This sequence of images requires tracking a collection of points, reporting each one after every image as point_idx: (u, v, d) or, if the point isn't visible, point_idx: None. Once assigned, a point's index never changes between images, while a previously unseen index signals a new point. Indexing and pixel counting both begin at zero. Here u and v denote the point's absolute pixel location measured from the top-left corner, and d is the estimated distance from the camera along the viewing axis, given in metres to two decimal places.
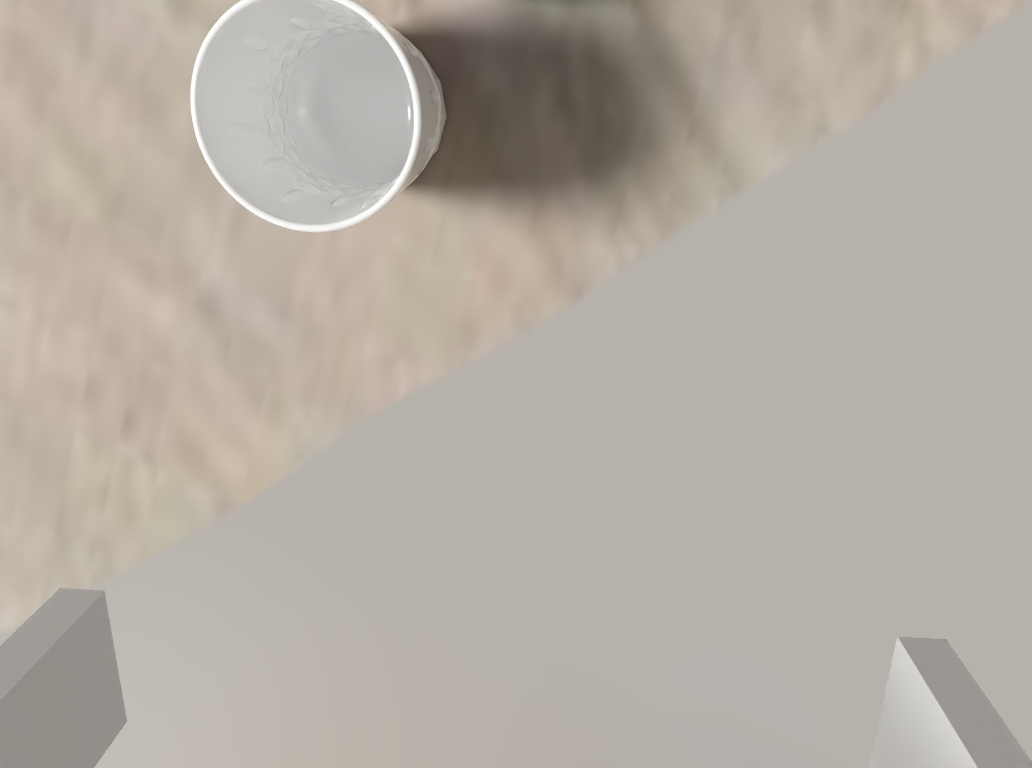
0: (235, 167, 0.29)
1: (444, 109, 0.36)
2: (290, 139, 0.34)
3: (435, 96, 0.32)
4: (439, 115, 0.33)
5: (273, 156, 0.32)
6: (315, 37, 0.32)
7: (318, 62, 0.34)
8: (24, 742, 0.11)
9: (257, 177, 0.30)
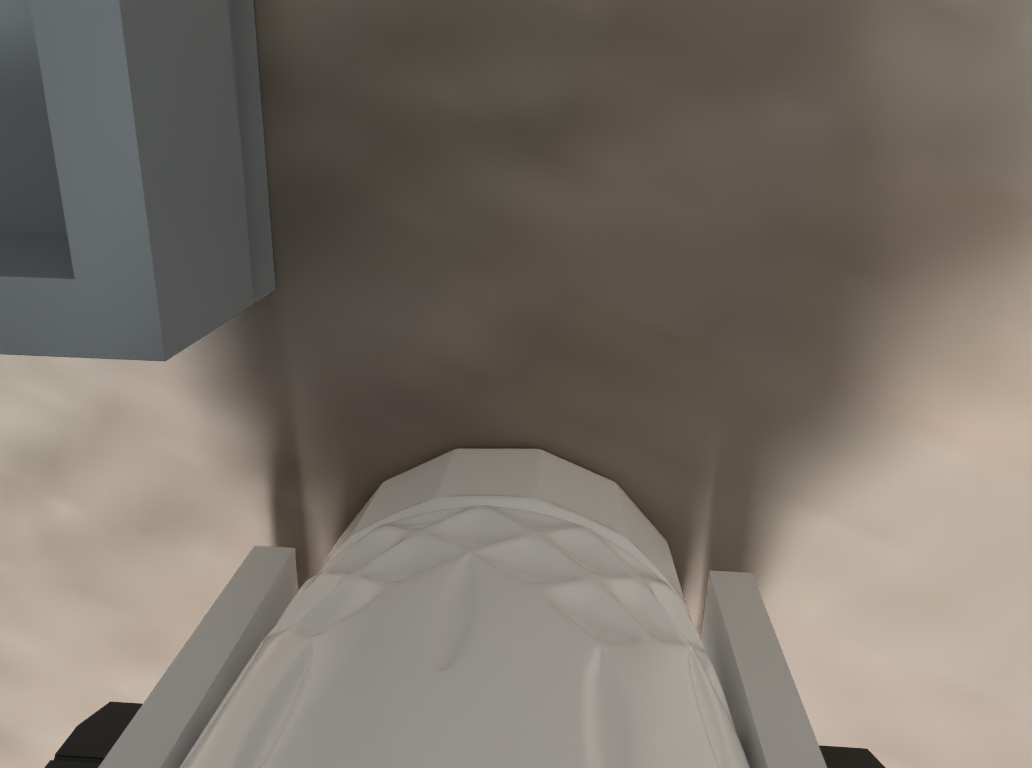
0: None
1: (521, 458, 0.14)
2: None
3: (463, 569, 0.10)
4: (524, 541, 0.11)
5: None
6: None
7: None
8: None
9: None
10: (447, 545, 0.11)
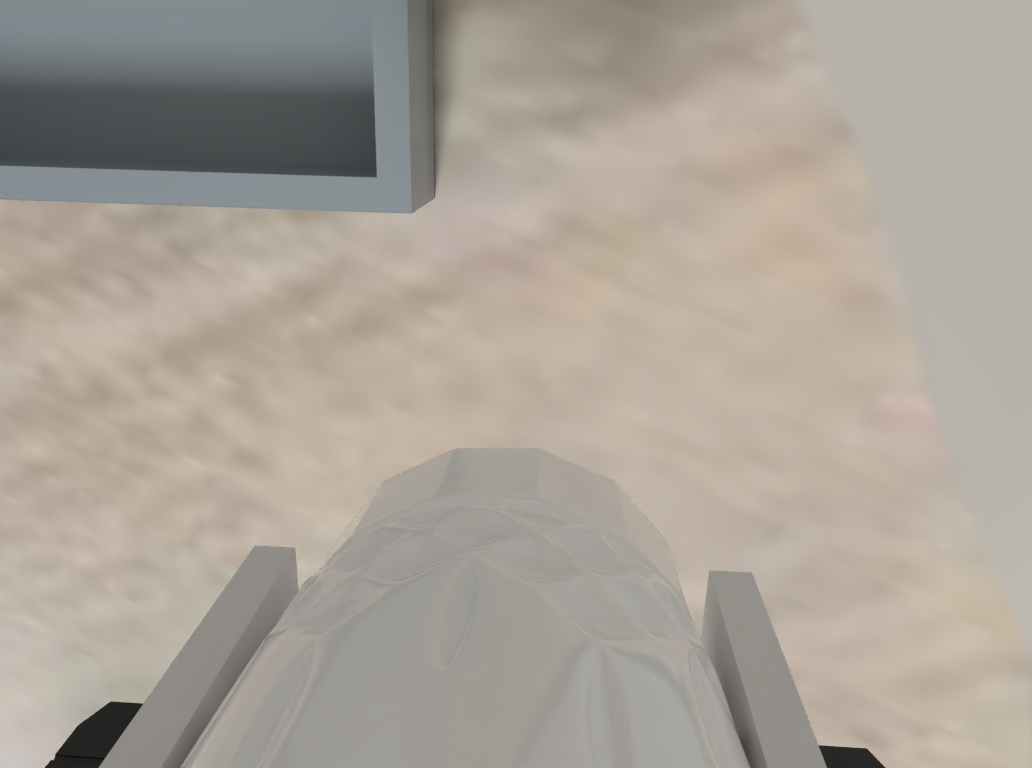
0: None
1: (521, 457, 0.14)
2: None
3: (464, 567, 0.10)
4: (525, 541, 0.11)
5: None
6: None
7: None
8: None
9: None
10: (448, 544, 0.11)
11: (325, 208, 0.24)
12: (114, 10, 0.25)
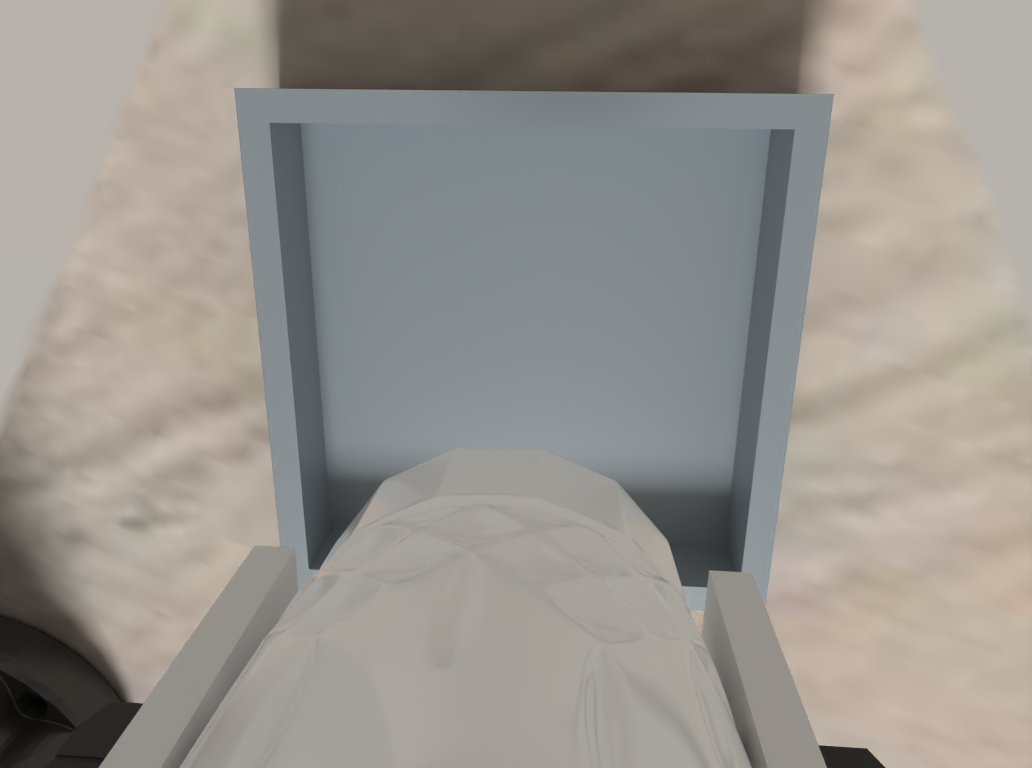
0: None
1: (521, 456, 0.14)
2: None
3: (464, 567, 0.10)
4: (525, 540, 0.11)
5: None
6: None
7: None
8: None
9: None
10: (448, 543, 0.11)
11: (694, 609, 0.30)
12: (502, 432, 0.31)
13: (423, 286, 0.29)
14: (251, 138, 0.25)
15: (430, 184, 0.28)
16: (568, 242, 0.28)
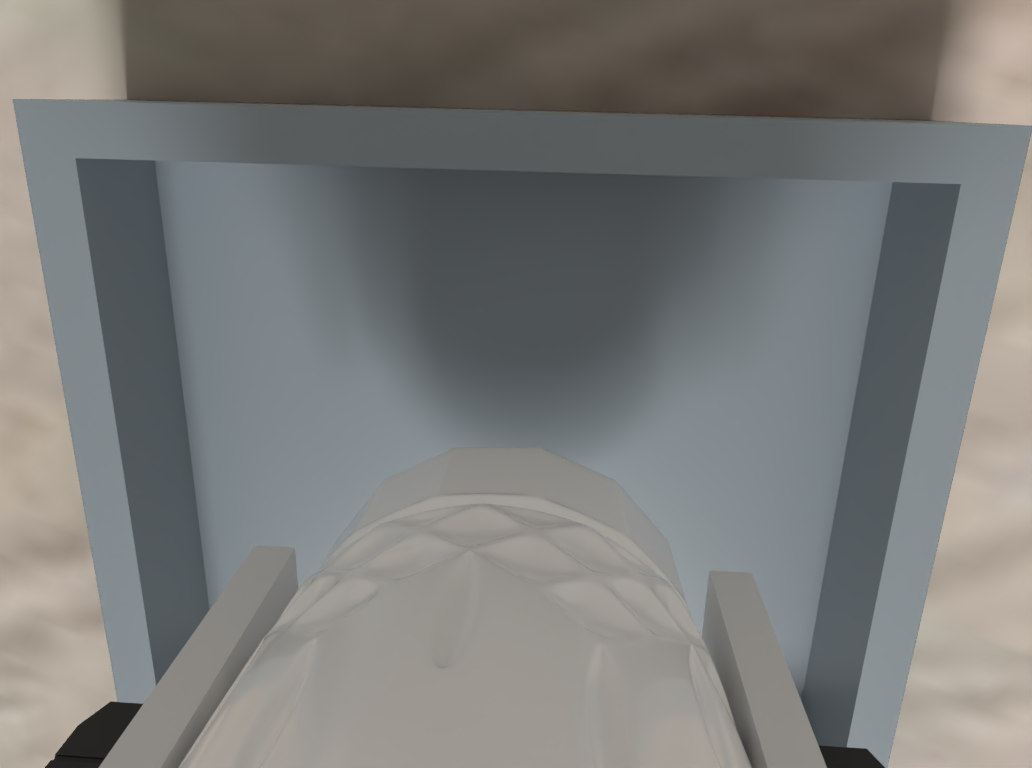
0: None
1: (521, 456, 0.14)
2: None
3: (464, 567, 0.10)
4: (525, 540, 0.11)
5: None
6: None
7: None
8: None
9: None
10: (447, 543, 0.11)
11: None
12: None
13: (351, 400, 0.19)
14: (47, 183, 0.15)
15: (359, 250, 0.18)
16: (571, 340, 0.19)
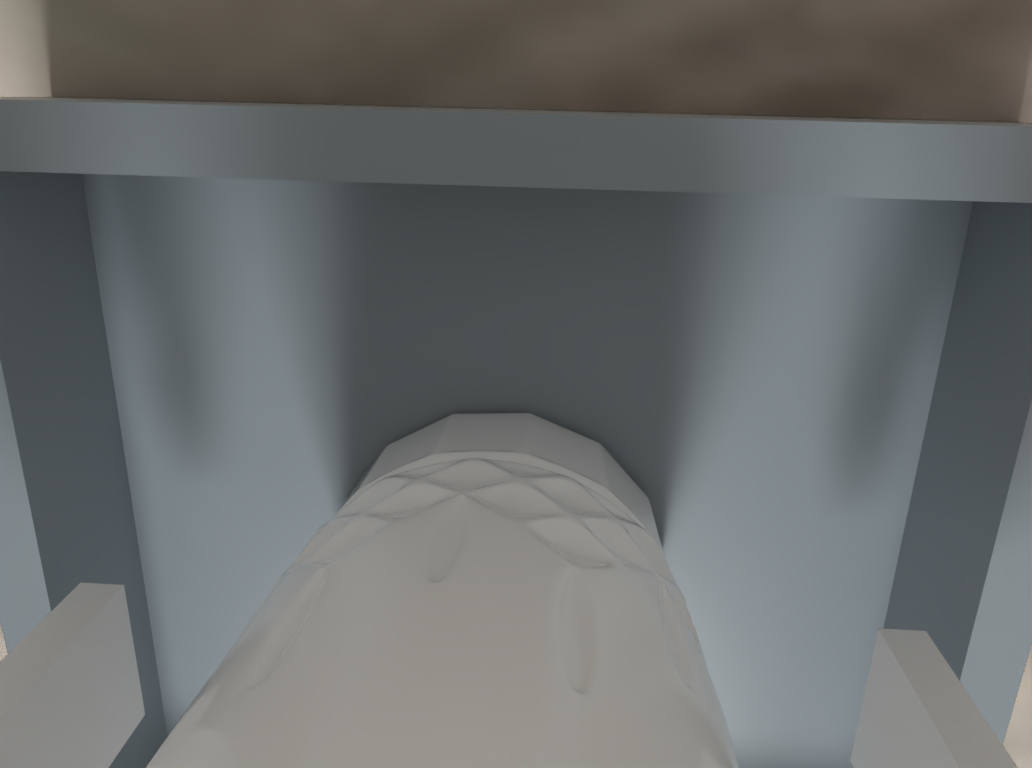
0: None
1: (512, 420, 0.15)
2: None
3: (456, 507, 0.11)
4: (512, 486, 0.12)
5: None
6: None
7: None
8: (48, 733, 0.12)
9: None
10: (442, 489, 0.12)
11: None
12: None
13: (320, 453, 0.16)
14: None
15: (326, 277, 0.15)
16: (581, 385, 0.16)
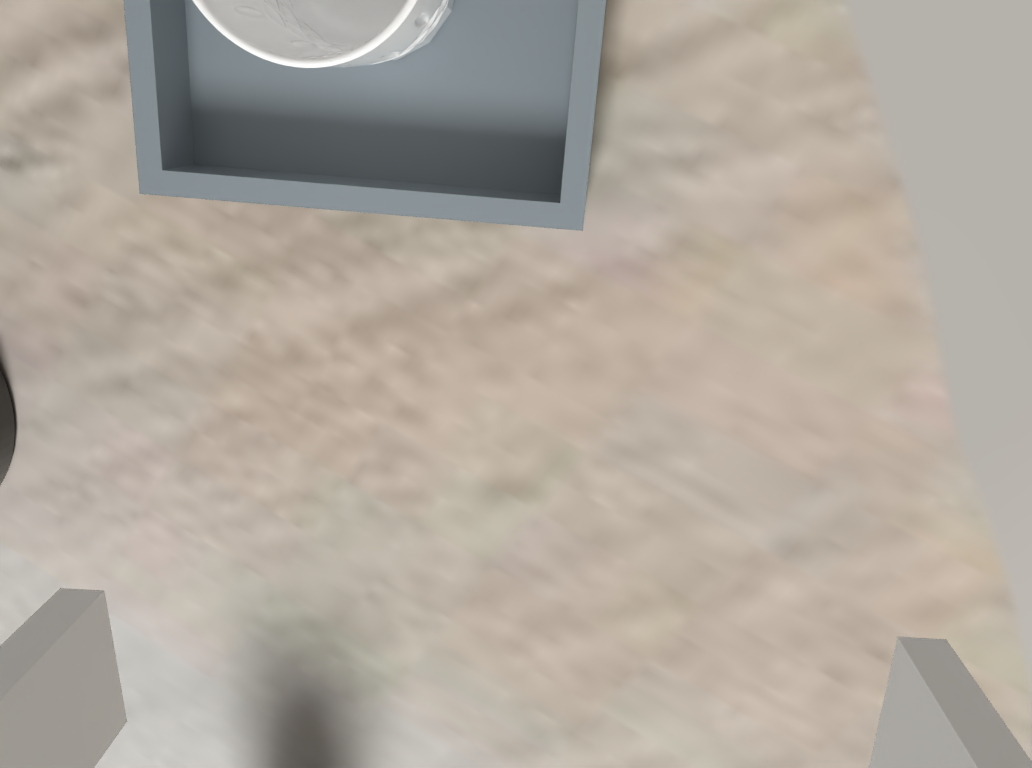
0: None
1: None
2: None
3: None
4: None
5: None
6: None
7: (308, 3, 0.31)
8: (24, 742, 0.11)
9: None
10: None
11: (518, 223, 0.32)
12: None
13: None
14: None
15: None
16: None
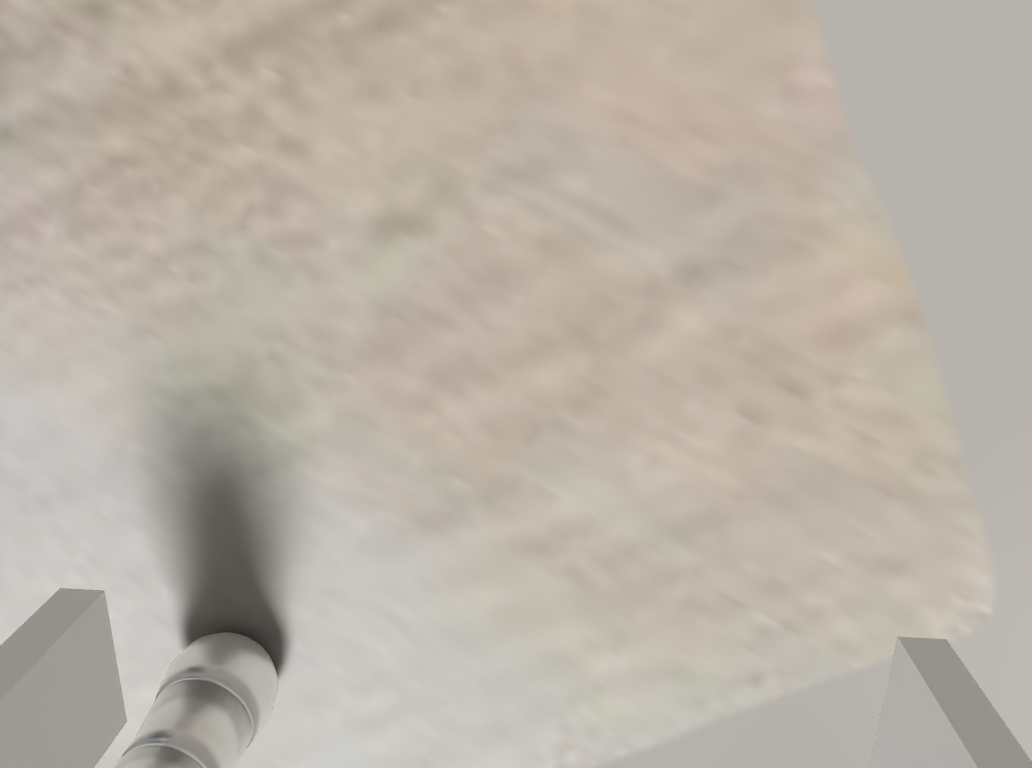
0: None
1: None
2: None
3: None
4: None
5: None
6: None
7: None
8: (24, 742, 0.11)
9: None
10: None
11: None
12: None
13: None
14: None
15: None
16: None
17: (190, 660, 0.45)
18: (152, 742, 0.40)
